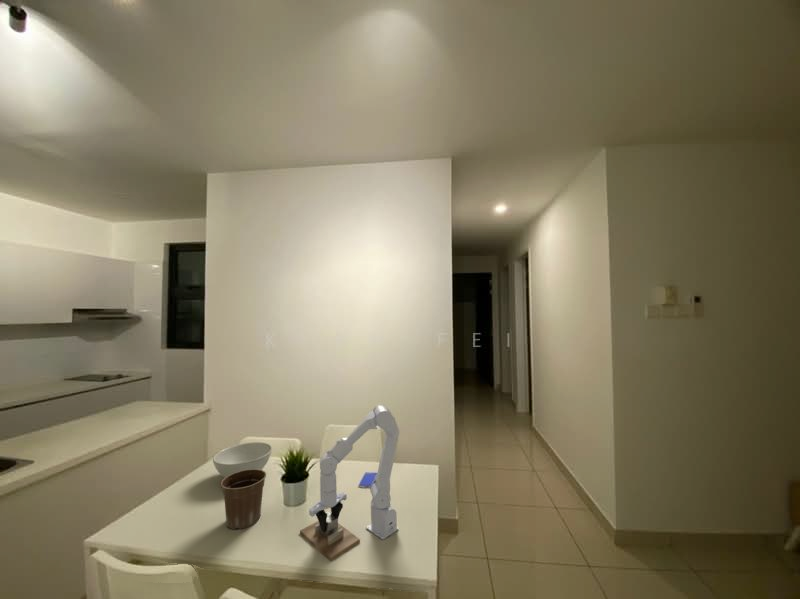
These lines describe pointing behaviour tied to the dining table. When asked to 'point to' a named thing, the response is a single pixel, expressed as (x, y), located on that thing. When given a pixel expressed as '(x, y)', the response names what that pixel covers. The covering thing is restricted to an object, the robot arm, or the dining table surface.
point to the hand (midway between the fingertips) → (328, 527)
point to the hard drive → (367, 480)
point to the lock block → (329, 525)
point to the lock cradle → (330, 540)
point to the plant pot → (243, 497)
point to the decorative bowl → (242, 458)
